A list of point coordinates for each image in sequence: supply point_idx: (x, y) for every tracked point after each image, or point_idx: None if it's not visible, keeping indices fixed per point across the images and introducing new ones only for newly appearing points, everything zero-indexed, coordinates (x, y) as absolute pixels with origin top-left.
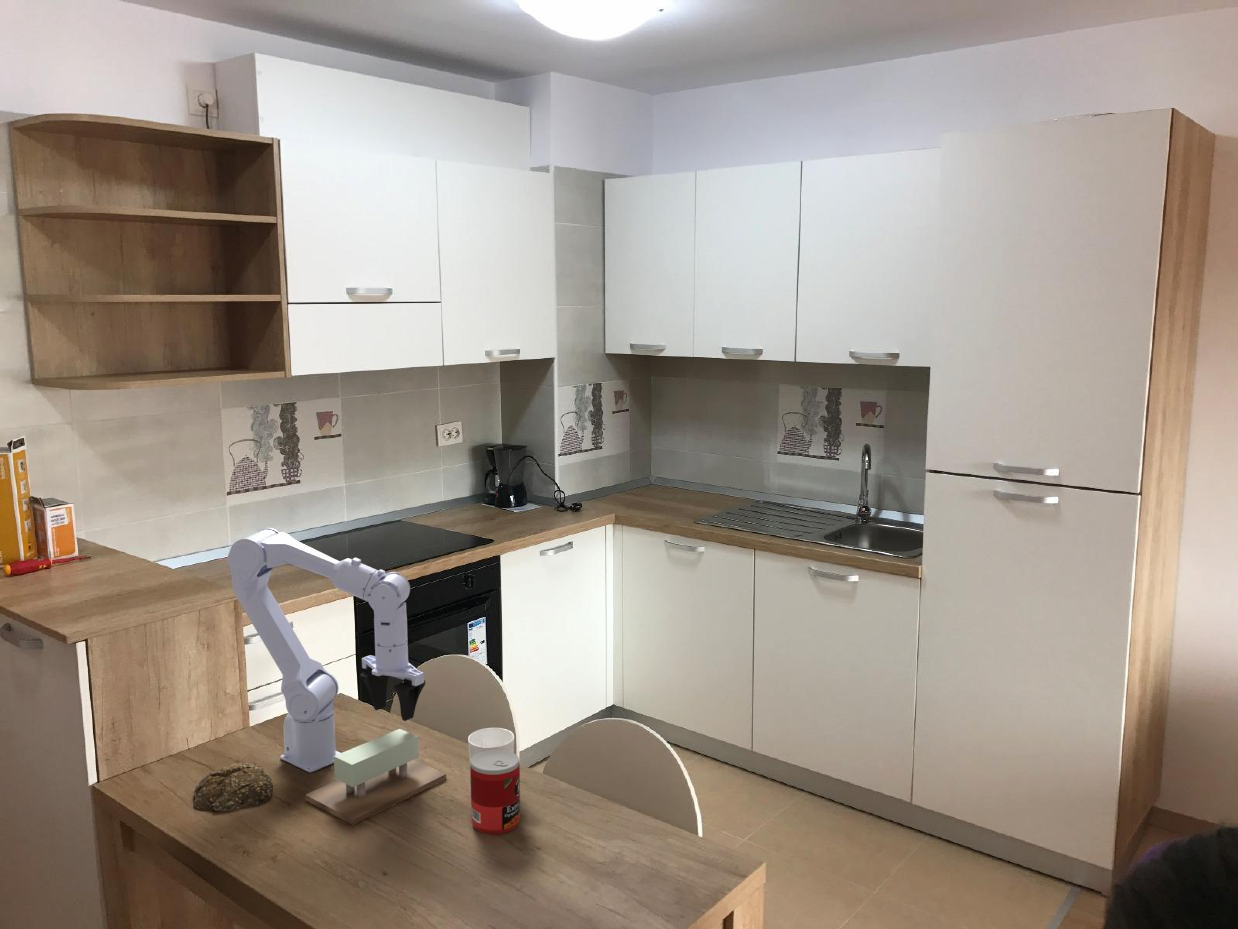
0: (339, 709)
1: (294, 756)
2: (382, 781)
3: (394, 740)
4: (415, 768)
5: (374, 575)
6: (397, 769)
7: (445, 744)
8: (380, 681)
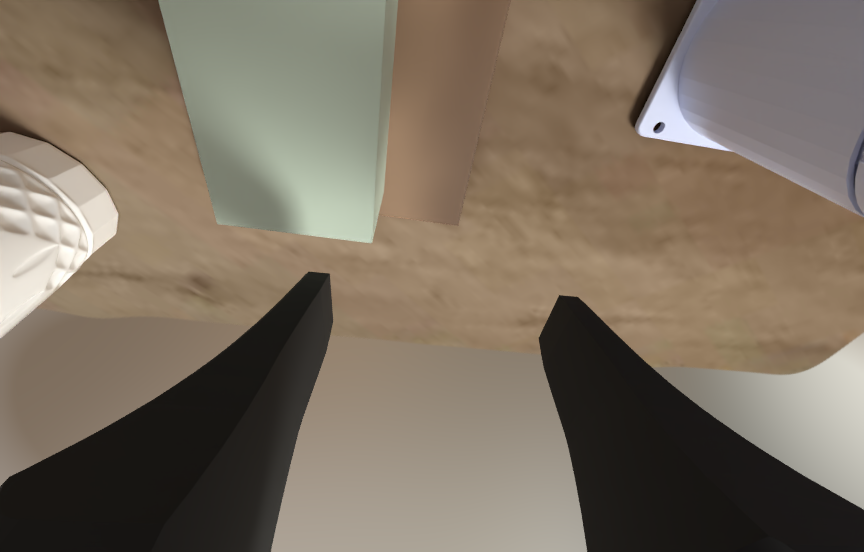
0: (782, 339)
1: None
2: None
3: (256, 112)
4: None
5: None
6: None
7: (402, 323)
8: (617, 497)
